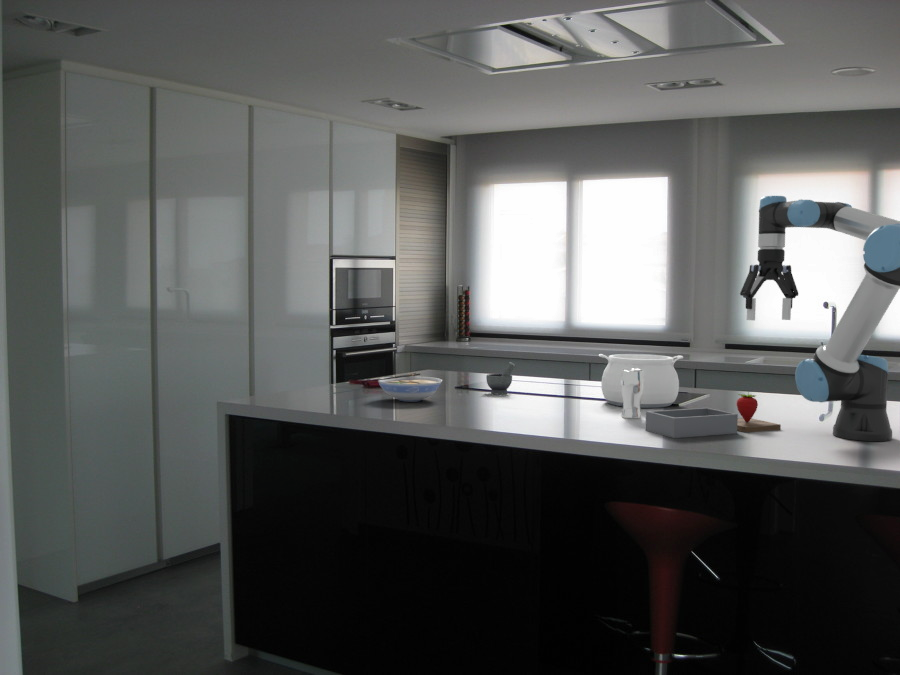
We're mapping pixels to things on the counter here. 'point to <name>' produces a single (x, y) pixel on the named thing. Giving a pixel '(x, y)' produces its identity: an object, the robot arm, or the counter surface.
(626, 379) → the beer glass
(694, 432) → the crate
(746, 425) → the display board
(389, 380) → the ramen bowl
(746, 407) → the strawberry
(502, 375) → the mortar and pestle
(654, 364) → the pot
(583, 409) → the counter surface
